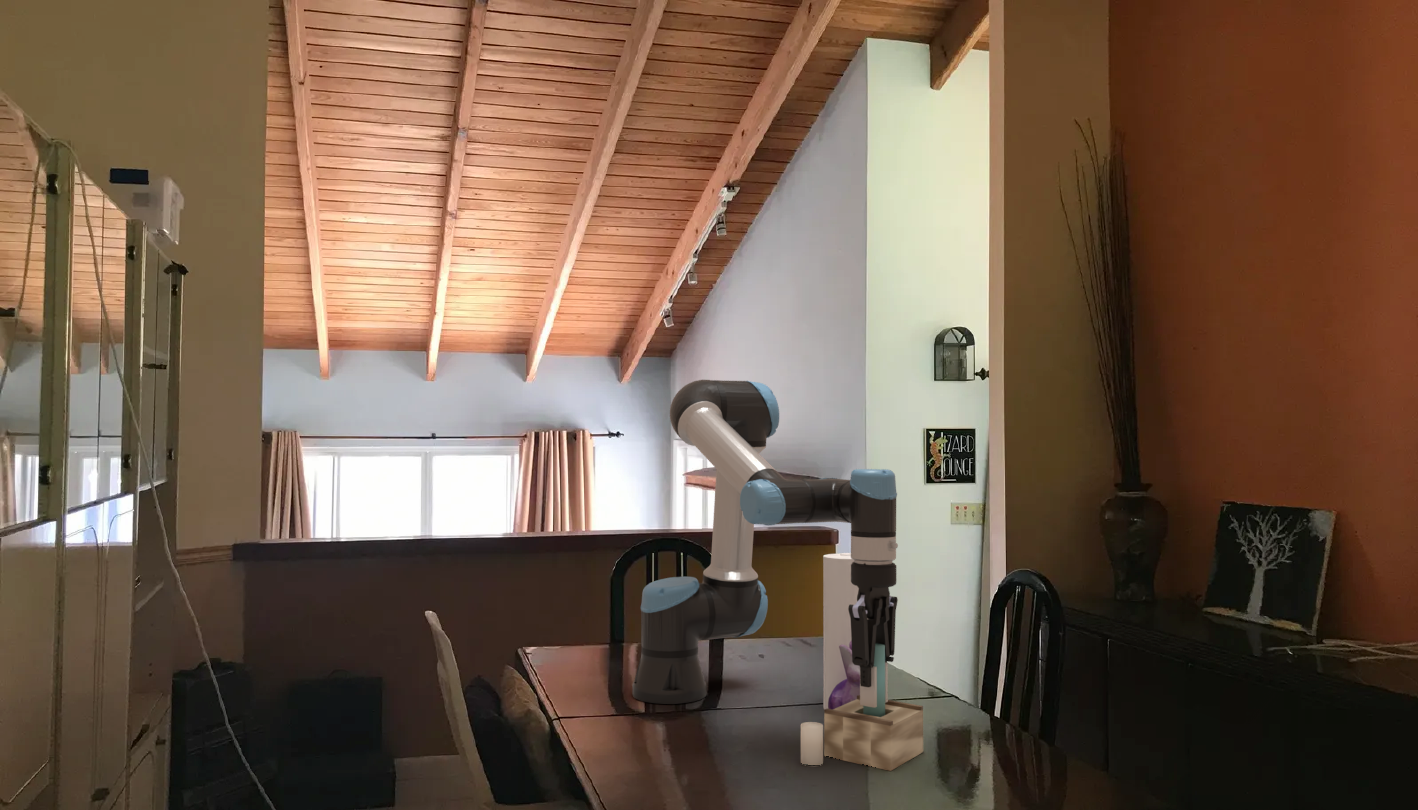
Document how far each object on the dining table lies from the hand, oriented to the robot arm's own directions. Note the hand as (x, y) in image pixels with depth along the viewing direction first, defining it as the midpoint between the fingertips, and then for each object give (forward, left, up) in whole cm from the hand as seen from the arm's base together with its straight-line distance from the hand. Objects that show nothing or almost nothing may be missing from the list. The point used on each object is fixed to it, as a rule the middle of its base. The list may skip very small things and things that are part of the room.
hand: (873, 703), depth 163 cm
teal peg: (0, 0, -5) cm, 5 cm away
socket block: (0, 0, -8) cm, 8 cm away
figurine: (-11, +14, -9) cm, 20 cm away
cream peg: (-6, -10, -8) cm, 14 cm away
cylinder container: (-17, +22, -9) cm, 29 cm away
